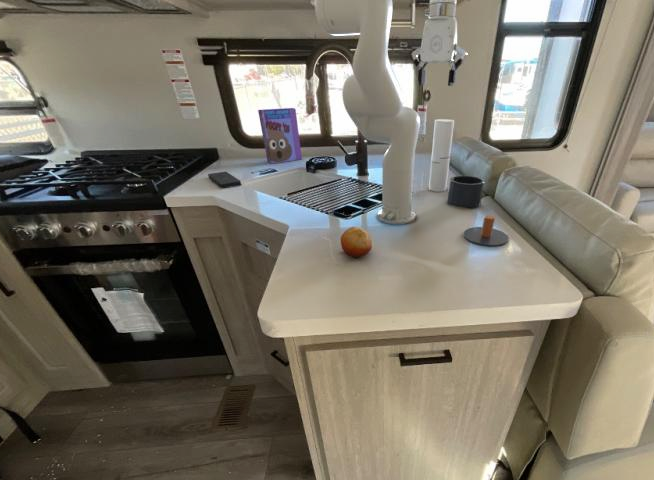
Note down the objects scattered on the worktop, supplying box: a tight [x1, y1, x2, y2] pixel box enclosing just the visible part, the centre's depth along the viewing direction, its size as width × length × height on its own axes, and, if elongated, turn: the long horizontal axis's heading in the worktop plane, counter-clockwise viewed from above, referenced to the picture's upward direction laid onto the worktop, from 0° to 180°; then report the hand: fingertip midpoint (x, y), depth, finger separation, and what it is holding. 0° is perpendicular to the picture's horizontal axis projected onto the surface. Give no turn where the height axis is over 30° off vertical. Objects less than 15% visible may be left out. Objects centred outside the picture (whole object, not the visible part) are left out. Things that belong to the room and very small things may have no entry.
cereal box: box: [257, 107, 303, 165], centre depth 166 cm, size 17×5×24 cm, turn 130°
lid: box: [463, 214, 510, 248], centre depth 92 cm, size 13×13×7 cm
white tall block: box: [428, 118, 455, 193], centre depth 126 cm, size 7×7×25 cm
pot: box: [447, 175, 485, 210], centre depth 117 cm, size 12×12×8 cm
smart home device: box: [207, 171, 242, 189], centre depth 139 cm, size 8×2×20 cm
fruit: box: [340, 226, 373, 259], centre depth 83 cm, size 8×8×8 cm
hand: (435, 85), depth 102 cm, fingers open, 9 cm apart
